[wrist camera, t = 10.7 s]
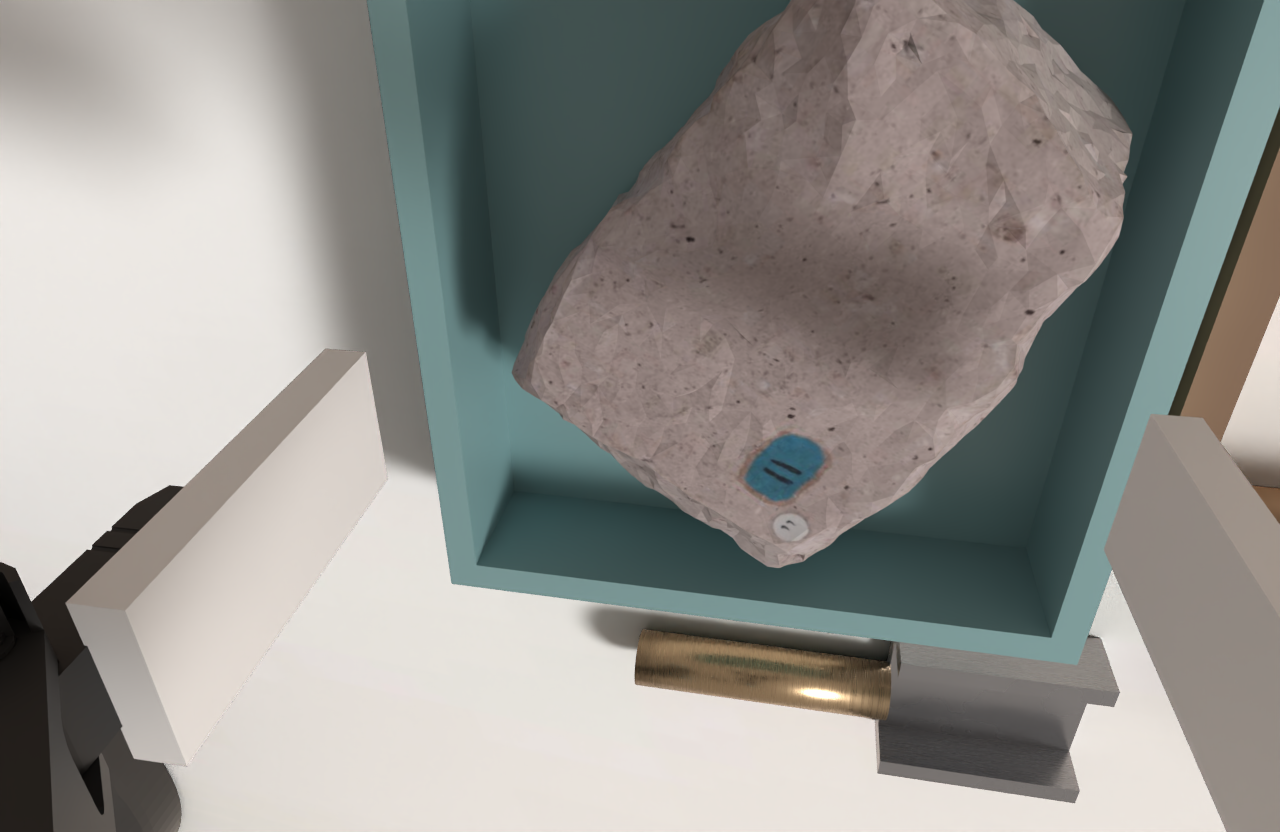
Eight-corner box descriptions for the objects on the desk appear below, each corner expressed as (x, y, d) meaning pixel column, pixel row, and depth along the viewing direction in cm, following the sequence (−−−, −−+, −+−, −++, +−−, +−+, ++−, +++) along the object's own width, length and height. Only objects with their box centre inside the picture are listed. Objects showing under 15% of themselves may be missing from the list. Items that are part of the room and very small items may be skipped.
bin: (496, 499, 29) (451, 583, 25) (428, -158, 19) (343, -162, 16) (1045, 561, 26) (1077, 664, 23) (1269, -160, 17) (1377, -166, 13)
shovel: (644, 688, 32) (633, 736, 30) (644, 581, 29) (632, 627, 27) (1060, 747, 30) (1074, 803, 28) (1100, 638, 27) (1119, 692, 25)
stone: (794, 515, 26) (789, 666, 21) (517, 336, 25) (439, 453, 20) (1175, 132, 19) (1301, 220, 14) (824, -144, 18) (826, -156, 13)
